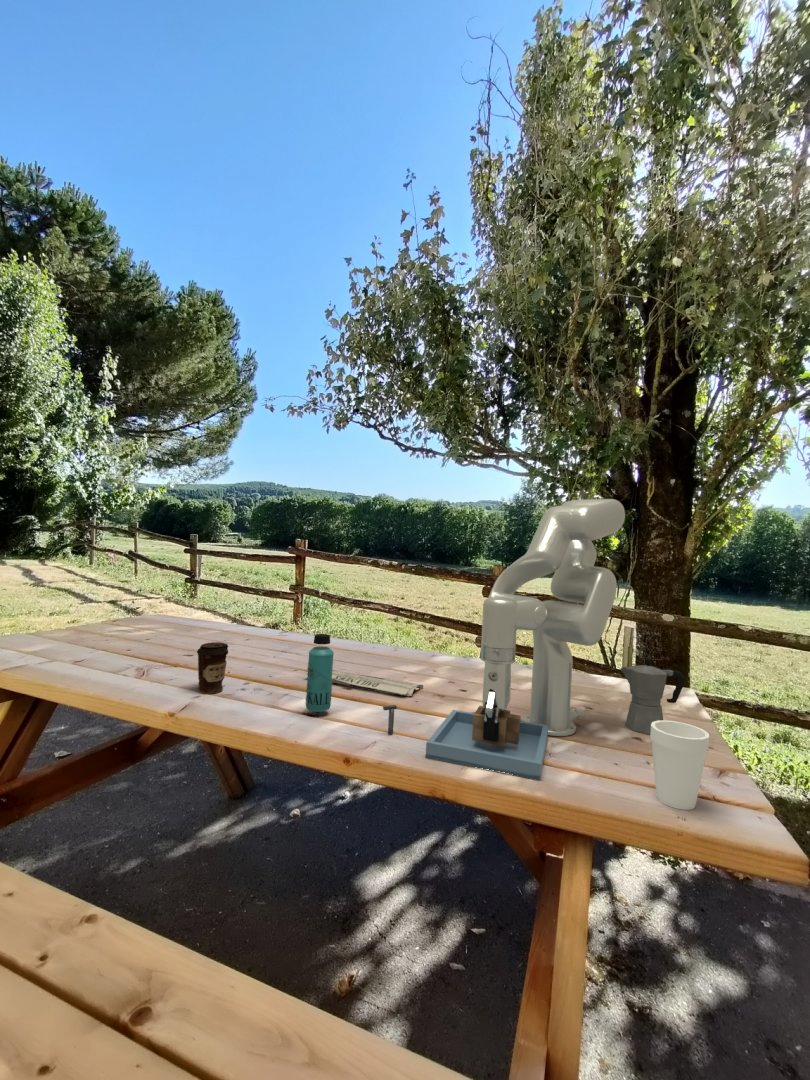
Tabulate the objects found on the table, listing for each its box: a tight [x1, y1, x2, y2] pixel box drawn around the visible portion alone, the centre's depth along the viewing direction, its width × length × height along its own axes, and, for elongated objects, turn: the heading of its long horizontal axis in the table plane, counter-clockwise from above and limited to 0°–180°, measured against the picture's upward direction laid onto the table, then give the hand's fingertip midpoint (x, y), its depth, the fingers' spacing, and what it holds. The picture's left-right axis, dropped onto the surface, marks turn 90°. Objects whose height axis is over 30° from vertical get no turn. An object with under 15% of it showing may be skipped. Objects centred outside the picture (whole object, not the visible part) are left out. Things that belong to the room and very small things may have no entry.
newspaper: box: [304, 669, 424, 697], centre depth 156 cm, size 35×12×4 cm, turn 69°
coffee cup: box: [196, 641, 229, 694], centre depth 142 cm, size 9×8×13 cm
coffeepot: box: [619, 658, 686, 736], centre depth 131 cm, size 15×9×18 cm, turn 76°
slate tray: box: [425, 709, 549, 781], centre depth 113 cm, size 23×23×3 cm
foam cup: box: [649, 720, 710, 811], centre depth 93 cm, size 10×9×13 cm
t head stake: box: [382, 704, 397, 736], centre depth 117 cm, size 3×1×6 cm, turn 116°
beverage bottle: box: [304, 633, 335, 713], centre depth 129 cm, size 6×7×20 cm
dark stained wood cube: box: [472, 705, 521, 746], centre depth 113 cm, size 10×7×6 cm
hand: (493, 733), depth 113 cm, fingers closed on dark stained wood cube, 7 cm apart
